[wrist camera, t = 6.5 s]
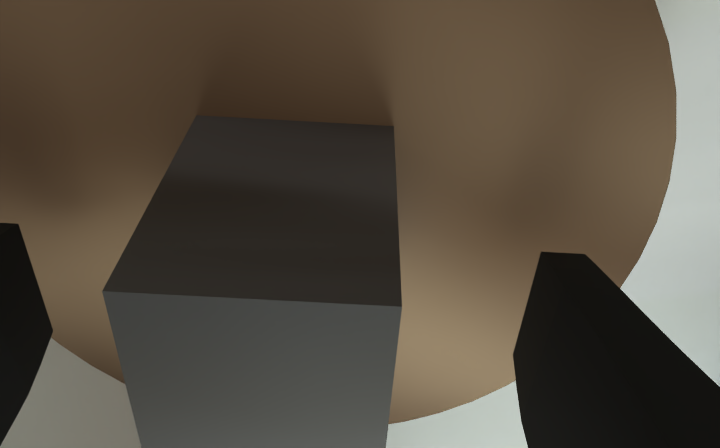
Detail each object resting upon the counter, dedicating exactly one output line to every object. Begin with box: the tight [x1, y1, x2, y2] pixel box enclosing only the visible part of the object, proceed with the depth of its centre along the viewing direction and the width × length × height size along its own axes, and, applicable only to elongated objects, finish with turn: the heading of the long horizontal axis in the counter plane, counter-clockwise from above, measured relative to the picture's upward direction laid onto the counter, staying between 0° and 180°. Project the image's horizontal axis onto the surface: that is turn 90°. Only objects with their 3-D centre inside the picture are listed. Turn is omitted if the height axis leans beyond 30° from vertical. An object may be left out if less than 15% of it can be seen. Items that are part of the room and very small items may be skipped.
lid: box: [0, 0, 676, 448], centre depth 9 cm, size 12×12×5 cm
